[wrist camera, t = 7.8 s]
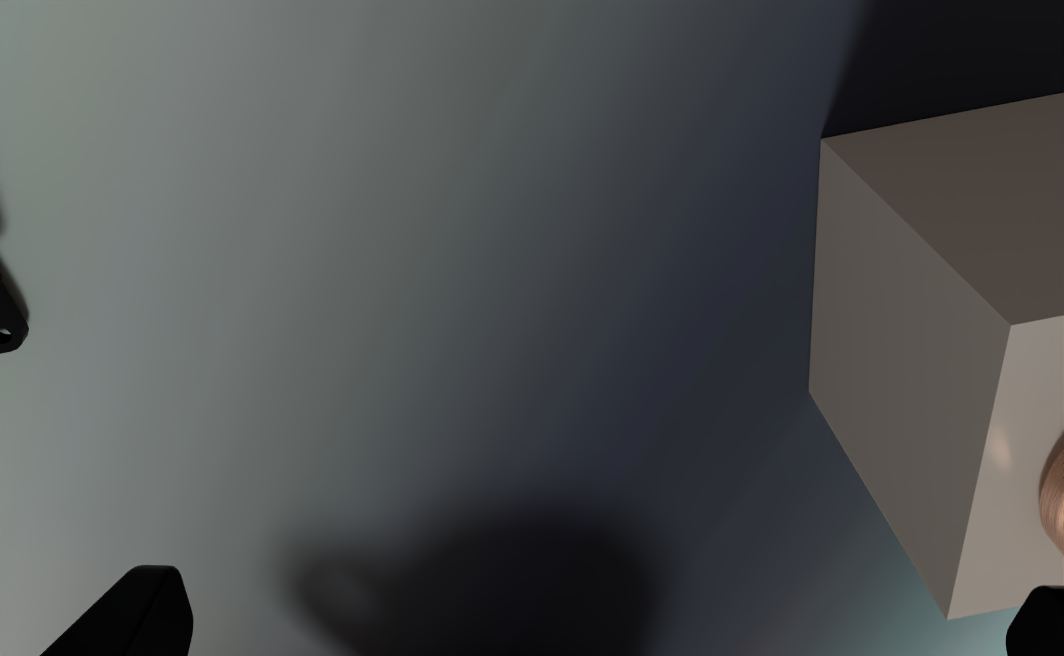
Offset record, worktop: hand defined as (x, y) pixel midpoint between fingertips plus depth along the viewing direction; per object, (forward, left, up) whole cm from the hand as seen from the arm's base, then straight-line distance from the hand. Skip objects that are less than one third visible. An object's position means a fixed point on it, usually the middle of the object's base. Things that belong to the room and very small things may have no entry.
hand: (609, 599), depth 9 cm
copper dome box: (+11, -6, -13) cm, 18 cm away
